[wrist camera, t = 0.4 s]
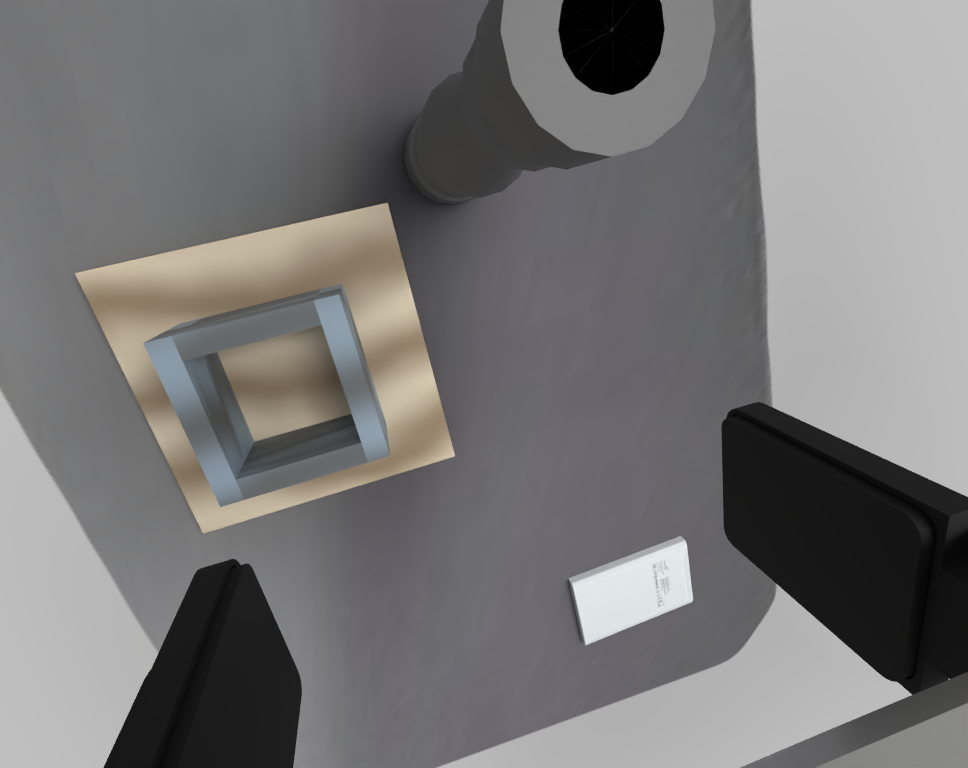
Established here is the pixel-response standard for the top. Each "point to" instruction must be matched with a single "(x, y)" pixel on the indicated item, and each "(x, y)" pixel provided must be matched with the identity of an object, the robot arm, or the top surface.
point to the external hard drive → (631, 589)
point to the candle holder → (558, 90)
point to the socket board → (276, 362)
